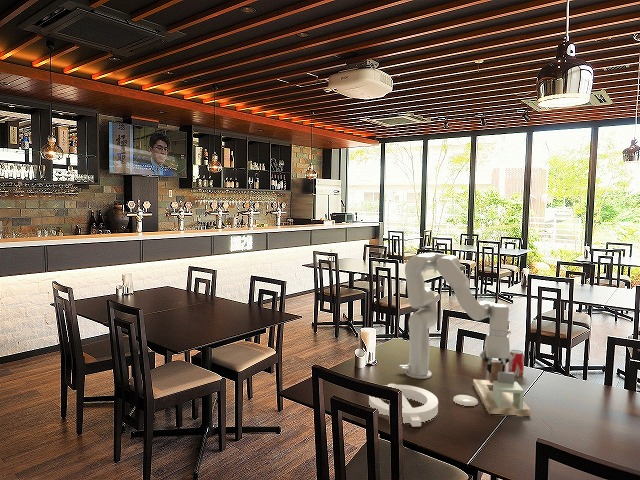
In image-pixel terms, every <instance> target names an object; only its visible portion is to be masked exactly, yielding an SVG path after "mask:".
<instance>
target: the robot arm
mask: <svg viewBox="0 0 640 480" xmlns="http://www.w3.org/2000/svg"><path fill="white" fill-rule="evenodd" d="M431 270H433V271H437V272H438V273H439V274H440V276H441V277H442V278H443V280H445V281H446V283H447V284H448V285H449V286H450V288H451V289H452V290H453V291H454V295H455V298H456V300H457V302H458V304H459V306H460V307H461V308H462V310H463V311H464V312H465V313H466V314H467V315H468V316H469V317H470V318H471V319H472V320H474V321H482V320H484V319H487V318H489V326H488V327H489V331H488V333H486V335H485V341H484V347H483V350H482V351H481V353H479V356H480V357H481V358H482V359H483V360H484V361H485V362H486V363H487V364H486V371H487V372H488V374H489V373H491V366H492V365H491V360H493V359H500V361H501V363H502V364H503V368H502V372H506V371H505V368H506V367H505V366H506V365H508V364H509V361H510V360H512V359H513V356H512V355H511V353H510V352H511V349H510V347H511V346H510V337H509V334H511V333H512V332H511V331H512V330H510V329H508V328H509V315H510V309H509V308H510V307H509V306H508V305H506V304H504V303H503V304H502V303H495V302H491V301H488V300H480V301H478V300H477V299H476V298H475V296H474V295H473V293H472V291H471V290H470V279H469V277H468V276H467V275H466V274H465V273H464V271H462V270H461V261H460V259H459V258H458V257H457V256H455V255H453V254H446V253H438V252H424V253H418V254H416V255H413V256H411V257H410V258H409V259H408V260H407V261H406V263H405V265H404V275H405V281H406V289H407V297H408V299H407V300H408V304H409V305H410V307H411V308H412V309H415V310H418V311H415V312H413V313H411V315H410V316H409V318H408V322H407V323H408V331H409V350H408V351H409V352H408V353H409V354H408V357H409V358H408V363H407V364H405V365H404V364H399V370H402V371H405V376H408V377H410V378H413V379H421V380H423V379H424V380H425V379H429V378H431V377H432V371H430V370H429V367H430V366H429V365H430V361H429V360H430V333H429V329H430V328H432V327H434V326H435V325H436V324H437V322H438V311H437V301H436V296H435V293H434V292H433V290H432V289H431V288H430V287H427V286H425V280H424V277H423V274H422V273H423V272H427V271H431Z"/></svg>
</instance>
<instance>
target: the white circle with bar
mask: <svg viewBox="0 0 640 480" xmlns="http://www.w3.org/2000/svg"><path fill="white" fill-rule="evenodd" d="M384 386H388V387H392V388H396V389H399V390H401V391H402V417H403V423H404V425H405V423H410V424H409V425H411V427H412V428H413V427H422V423H421V422H424V423H426V422H425V421H428V420H430V421H432V420H433V419H432V418H434V417H435V416H436V415H437V416H438V414H437V413H438V412H439V399H438V397H437V396H436V395H435V394H434V393H432V392H431V391H429V390H426V389H424V388H421V387H418V386H414V385H409V384H396V383H388V384H387V385H384ZM407 398H408V399H407ZM410 399H412V400H411V401H414V400H415V402H417V401H418V403H419V402H420V403H419V404H421V403H422V404H421V406H416V407H412V405H411V404H410V402H409V401H408V400H410ZM423 404H424V405H423ZM369 405H370V407H372V408H376V409H378V411H379V414H383V415H388V416H389V405H390V404H389V403H388V404H387V403H386V402H384V401H382V400H381V399H379V398H375V397H371V396H369V395H368V406H369ZM437 416H436V417H437ZM436 417H435V418H436ZM435 418H434V419H435ZM431 419H432V420H431ZM428 422H429V421H428Z"/></svg>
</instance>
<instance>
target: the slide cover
mask: <svg viewBox="0 0 640 480" xmlns="http://www.w3.org/2000/svg"><path fill="white" fill-rule="evenodd" d="M502 392H507V393H513V401H514V402H515V403H516V405H517V406H518V408H519V409H522V410H523V401H524V396H525V393H524V392H525V391H524V389H523V388H522V386H521V385H520V384H519V383H518V381H515V377H514V373H513V372H508V371H504V372H498V381H493V400H494V402H495V404H496V405H497V407H498V408H501V406H502Z"/></svg>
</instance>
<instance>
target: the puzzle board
mask: <svg viewBox="0 0 640 480" xmlns="http://www.w3.org/2000/svg"><path fill="white" fill-rule="evenodd" d="M472 382H473V383H472V387H473V386H474V387H473V388H474V390H475V392H476V394H477V395H479V396H478V398H479V397H480V398H479V400H480V401H481V403H482V405H483V404H484V405H483V407H484V406H485V407H484V408H486V409H485V410H486V412H487V411H488V412H487V414H488V413H489V414H488V415H490V414H504V415H503V416H506V415H517V416H516V417H523V416H530V417H531V409H530V407H529V406H528V405H527V403H526V402H525V401H524V400H523V410H522V409H519V408H518V406H517V405H516V403H515V402H514V401H513V393H507V392H502V406H501V408H498V407H497V405H496V404H495V402H494V400H493V383H490V381H489V380H488V379H475V378H474V379H473V380H472Z"/></svg>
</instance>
